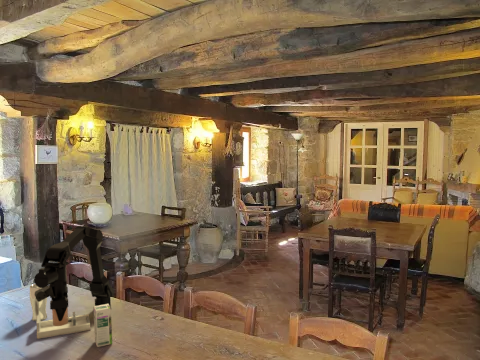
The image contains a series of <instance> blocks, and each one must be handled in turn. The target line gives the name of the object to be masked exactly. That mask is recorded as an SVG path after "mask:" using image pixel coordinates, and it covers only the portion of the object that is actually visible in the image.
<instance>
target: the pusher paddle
mask: <svg viewBox="0 0 480 360" xmlns="http://www.w3.org/2000/svg"><path fill="white" fill-rule="evenodd" d="M75 316H76V311H72V317H73V326H75V325H76V318H75ZM68 322H72V319H71V320H68Z"/></svg>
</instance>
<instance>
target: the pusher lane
mask: <svg viewBox="0 0 480 360" xmlns="http://www.w3.org/2000/svg"><path fill="white" fill-rule="evenodd" d="M89 315H90V314H89V313H87V314H81V315H75V318H76V325H75V326H73V316H68V320H71V319H72V322H68V323H67V324H65V325H62V326H54V325H53V319H49V320H42V321H41V318H40V315H38V316H37V321H36V338H37V340H38V339H39V340H40V339H45V338H50V337H56V336H57V337H58V336H63V335H69V334H75V333H79V332H86V331H91V321H90V316H89Z"/></svg>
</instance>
